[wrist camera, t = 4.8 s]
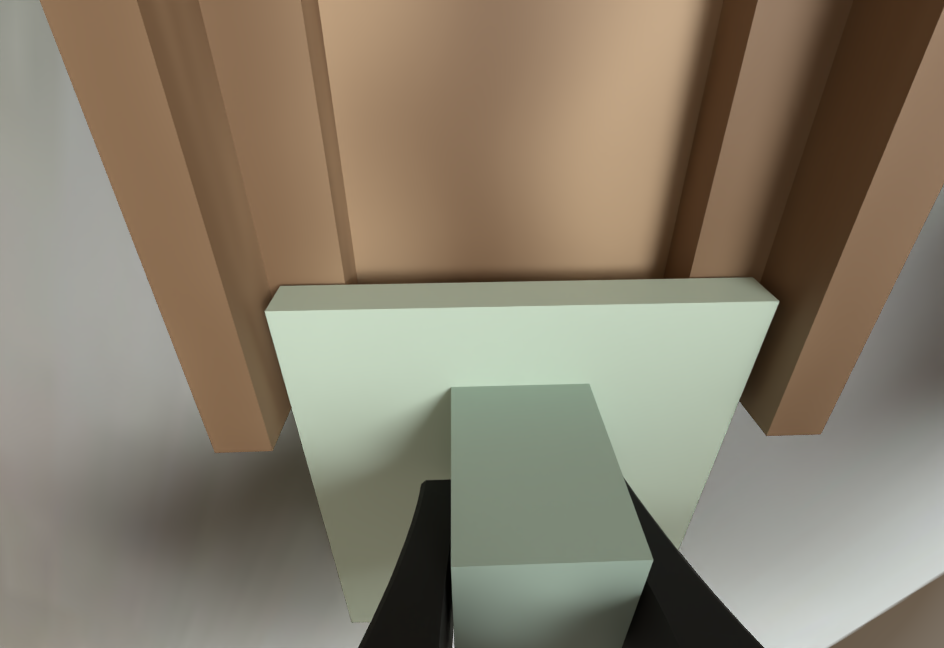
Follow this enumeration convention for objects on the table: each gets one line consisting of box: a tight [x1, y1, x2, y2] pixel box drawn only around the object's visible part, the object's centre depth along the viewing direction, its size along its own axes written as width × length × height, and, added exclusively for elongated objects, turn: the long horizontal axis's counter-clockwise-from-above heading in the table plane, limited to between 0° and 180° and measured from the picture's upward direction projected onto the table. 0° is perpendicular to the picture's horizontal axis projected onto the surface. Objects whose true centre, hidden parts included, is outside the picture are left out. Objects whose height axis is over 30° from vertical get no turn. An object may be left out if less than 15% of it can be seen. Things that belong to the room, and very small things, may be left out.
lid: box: [265, 277, 779, 648], centre depth 11 cm, size 10×12×5 cm
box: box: [40, 0, 944, 453], centre depth 8 cm, size 13×15×4 cm
